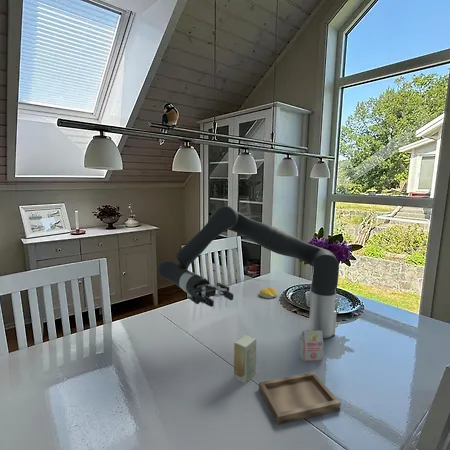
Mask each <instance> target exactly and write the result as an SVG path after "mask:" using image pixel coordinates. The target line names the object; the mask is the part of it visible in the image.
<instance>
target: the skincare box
mask: <svg viewBox="0 0 450 450" xmlns="http://www.w3.org/2000/svg"><path fill="white" fill-rule="evenodd" d="M233 343H234V344H233V346H234V347H233V351H234V354H233V355H234V356H233V359H234V360H233V361H234V362H233V363H234V365H233V373H234V375H233V378H234V377H235V378H236V379H235V378H234V379H235V380H237V379H238V380H237V381H239V380H240V381H239V382H240V383H243V384H244V383H245V384H247V383H248V382H249V381H250V380H252V378H253V377H254V376H255V375H256V374H257V338H256V337H254V336H251V335H249V334H243V335H242V336H241V337H239V338H238V339H237V340H236V341H234V342H233Z"/></svg>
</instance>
